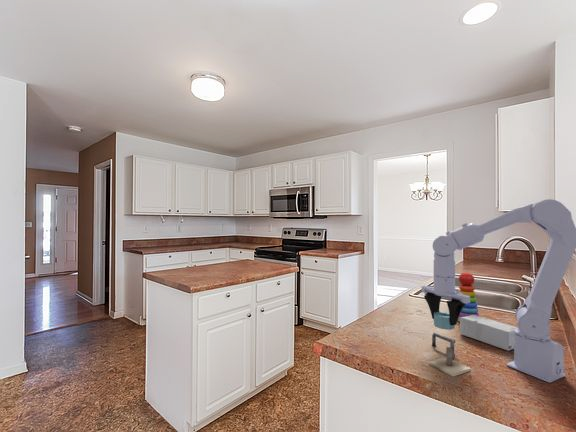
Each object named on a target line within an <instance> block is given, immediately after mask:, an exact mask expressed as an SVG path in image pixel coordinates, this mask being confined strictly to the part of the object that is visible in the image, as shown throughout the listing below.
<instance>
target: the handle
mask: <svg viewBox="0 0 576 432" xmlns="http://www.w3.org/2000/svg"><path fill="white" fill-rule="evenodd" d="M436 338H439V339H441V340H443V341H445V342H448V343H449V344H450V345H449V347H451V348H452V360H454V361H455V344H456V340H455V339H453V338H450V337H448V336H445V335H443V334H440V333H437V332H433V333H432V334H431V346H433V347H436V346H437V345H436V343H437V342H436V341H437V340H436Z"/></svg>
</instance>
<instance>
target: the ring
mask: <svg viewBox="0 0 576 432" xmlns="http://www.w3.org/2000/svg"><path fill="white" fill-rule="evenodd" d="M433 326H434V327H435V328H438V329H441V330H448V331H450V330H455V329H456V325H453V326H452V325H450V322H449V312H444V311H439V312H434V319H433Z"/></svg>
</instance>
